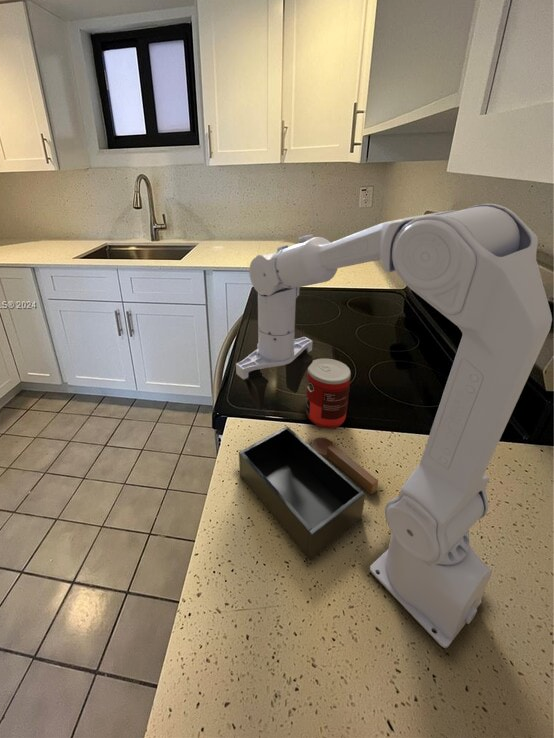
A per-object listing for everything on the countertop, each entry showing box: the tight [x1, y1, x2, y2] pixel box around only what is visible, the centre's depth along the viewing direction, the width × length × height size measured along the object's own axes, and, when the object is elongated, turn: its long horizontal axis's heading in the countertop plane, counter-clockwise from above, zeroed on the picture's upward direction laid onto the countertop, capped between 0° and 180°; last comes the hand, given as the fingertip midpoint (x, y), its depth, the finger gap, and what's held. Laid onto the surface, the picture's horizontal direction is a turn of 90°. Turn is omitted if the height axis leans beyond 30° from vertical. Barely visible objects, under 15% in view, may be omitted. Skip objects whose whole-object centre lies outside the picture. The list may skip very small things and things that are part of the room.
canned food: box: [305, 358, 352, 429], centre depth 68 cm, size 8×8×11 cm
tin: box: [238, 425, 366, 561], centre depth 53 cm, size 16×10×5 cm, turn 33°
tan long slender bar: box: [310, 437, 379, 495], centre depth 59 cm, size 12×4×2 cm, turn 33°
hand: (275, 397), depth 61 cm, fingers open, 7 cm apart
